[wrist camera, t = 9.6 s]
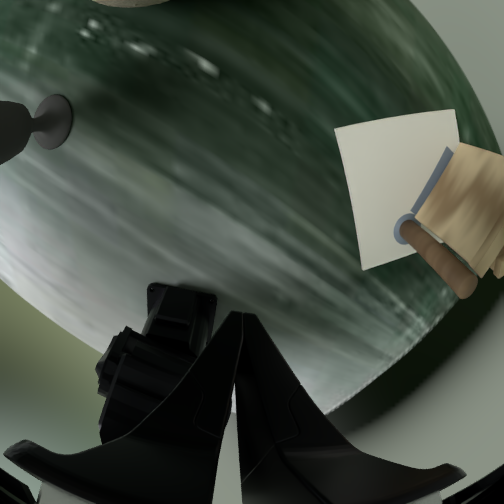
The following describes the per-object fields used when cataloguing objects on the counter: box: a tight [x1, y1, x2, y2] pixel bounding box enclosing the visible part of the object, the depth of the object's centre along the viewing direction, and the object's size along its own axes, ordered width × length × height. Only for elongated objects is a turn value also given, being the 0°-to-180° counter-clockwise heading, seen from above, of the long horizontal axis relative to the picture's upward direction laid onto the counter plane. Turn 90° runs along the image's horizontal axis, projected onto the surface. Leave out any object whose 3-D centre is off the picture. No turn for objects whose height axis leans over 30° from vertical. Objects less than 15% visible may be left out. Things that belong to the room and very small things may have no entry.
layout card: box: [334, 109, 460, 270], centre depth 20 cm, size 12×12×1 cm
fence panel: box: [414, 143, 504, 278], centre depth 15 cm, size 9×1×9 cm, turn 151°
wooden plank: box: [399, 220, 504, 299], centre depth 17 cm, size 8×2×9 cm, turn 108°
